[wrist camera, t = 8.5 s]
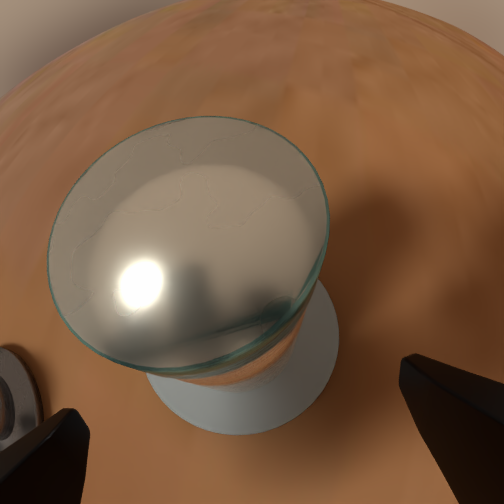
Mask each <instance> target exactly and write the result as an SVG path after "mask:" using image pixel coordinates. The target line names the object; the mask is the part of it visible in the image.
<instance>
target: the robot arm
mask: <svg viewBox="0 0 504 504" xmlns="http://www.w3.org/2000/svg"><path fill="white" fill-rule="evenodd" d="M399 387H400V390H401V392H402V394H403V397H404V399H405V401H406V403H407V406H408V408H409V410H410V412H411V415H412V417H413V419H414V422H415V424H416V426H417V428H418V431H419V433H420V434H421V436H422V438H423V440H424V441H425V443H426V445H427V447H428V448H429V450H430V452H431V454H432V455H433V457H434V459H435V461H436V462H437V464H438V466H439V468H440V470H441V471H442V473H443V475H444V477H445V479H446V481H447V482H448V484H449V486H450V488H451V490H452V492H453V494H454V495H455V497H456V499H457V501H458V503H459V504H504V384H503V383H500V382H497V381H494V380H491V379H488V378H485V377H482V376H479V375H476V374H473V373H470V372H467V371H465V370H462V369H459V368H456V367H453V366H450V365H447V364H445V363H442V362H439V361H436V360H433V359H431V358H428V357H425V356H422V355H420V354H417V353H415V354H411V355H409V356H406V357H404V358H402V360H401V365H400V374H399ZM89 440H90V430H89V428H88V426H87V425H86V423H85V422H84V420H83V419H82V417H81V415H80V414H79V412H78V411H77V410H76V409H73V408H63V409H61V410H60V411H58V412H57V413H56V414H54V415H53V416H51V417H50V418H49V419H47V420H46V421H44V422H43V423H41V424H40V425H39V426H37V427H36V428H34V429H33V430H31V431H30V432H29V433H27V434H26V435H24V436H23V437H21V438H20V439H18V440H17V441H16V442H14V443H13V444H11V445H10V446H8V447H7V448H5V449H4V450H2V451H1V452H0V504H81V498H82V493H83V487H84V482H85V476H86V467H87V457H88V448H89Z"/></svg>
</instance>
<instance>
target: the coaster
mask: <svg viewBox="0 0 504 504" xmlns="http://www.w3.org/2000/svg"><path fill="white" fill-rule="evenodd" d="M338 346H339V327H338V321H337V316H336V312H335V309H334V306H333V303H332V301H331V299H330V296H329V294H328V292H327V291H326V289H325V288H324V286H323V285H322V283H321V282H320V280H319V279H318V281H317V284H316V287H315V289H314V292H313V294H312V297H311V300H310V302H309V304H308V305H307V308H306V312H305V315H304V318H303V321H302V325H301V328H300V331H299V334H298V337H297V340H296V343H295V347H294V350H293V353H292V355H291V357H290V360H289V362H288V363H287V365H286V367H285V368H284V369H283V371H282V372H281V373H280V374H279V375H278V376H277V377H276V378H275V379H274V380H272V381H271V382H269V383H268V384H266V385H264V386H262V387H261V388H258V389H255V390H252V391H248V392H241V393H229V392H223V391H218V390H214V389H210V388H206V387H202V386H199V385H195V384H191V383H187V382H184V381H180V380H177V379H173V378H165V377H160V376H156V375H153V374H149V373H146V374H147V377H148V379H149V381H150V383H151V385H152V387H153V389H154V390H155V392H156V393H157V394H158V396H159V397H160V398H161V400H162V401H163V402H164V403H165V404H166V405H167V406H168V407H169V408H170V409H171V410H172V411H173V412H174V413H176V414H177V415H178V416H180V417H181V418H182V419H184V420H186V421H187V422H189V423H191V424H193V425H195V426H197V427H200V428H202V429H205V430H208V431H212V432H216V433H220V434H229V435H249V434H255V433H260V432H265V431H268V430H271V429H274V428H277V427H279V426H281V425H283V424H285V423H287V422H289V421H291V420H292V419H294V418H295V417H297V416H298V415H300V414H301V413H302V412H303V411H305V410H306V409H307V408H308V407H309V406H310V405H311V404H312V403H313V402H314V401H315V400H316V398H317V397H318V396H319V395H320V393H321V392H322V390H323V389H324V387H325V386H326V384H327V382H328V381H329V378H330V376H331V374H332V371H333V369H334V366H335V362H336V359H337V354H338Z"/></svg>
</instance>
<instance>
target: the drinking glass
mask: <svg viewBox="0 0 504 504" xmlns="http://www.w3.org/2000/svg"><path fill="white" fill-rule="evenodd" d="M329 228H330V213H329V206H328V199H327V196H326V192H325V189H324V186H323V183H322V181H321V179H320V177H319V175H318V173H317V171H316V169H315V168H314V166H313V165H312V164H311V162H310V161H309V159H308V158H307V157H306V156H305V155H304V154H303V153H302V152H301V151H300V149H299V148H298V147H297V146H295V145H294V144H293V143H291V142H290V141H289V140H288V139H286V138H285V137H283V136H282V135H280V134H278V133H277V132H275V131H273V130H271V129H269V128H267V127H264V126H262V125H260V124H257V123H253V122H250V121H247V120H242V119H237V118H232V117H222V116H198V117H188V118H182V119H177V120H172V121H168V122H165V123H161V124H158V125H155V126H152V127H150V128H147V129H145V130H142V131H140V132H138V133H136V134H134V135H132V136H130V137H128V138H127V139H125V140H123V141H121V142H120V143H118V144H117V145H115V146H114V147H112V148H111V149H110V150H108V151H107V152H105V153H104V154H103V155H102V156H101V157H99V158H98V159H97V160H96V161H95V162H94V163H93V164H92V165H91V166H90V167H89V168H88V169H87V170H86V171H85V172H84V173H83V174H82V175H81V177H80V178H79V179H78V180H77V182H76V183H75V184H74V185H73V187H72V188H71V190H70V191H69V193H68V194H67V196H66V198H65V199H64V201H63V203H62V205H61V207H60V209H59V211H58V213H57V216H56V219H55V221H54V224H53V227H52V231H51V234H50V238H49V244H48V251H47V275H48V282H49V288H50V291H51V295H52V298H53V301H54V304H55V306H56V308H57V310H58V312H59V314H60V316H61V318H62V319H63V321H64V322H65V324H66V325H67V327H68V328H69V330H70V331H71V332H72V333H73V334H74V335H75V336H76V337H77V338H78V339H79V340H80V341H81V342H82V343H83V344H84V345H86V346H87V347H89V348H90V349H91V350H93V351H94V352H95V353H97V354H99V355H101V356H103V357H105V358H107V359H109V360H111V361H113V362H115V363H118V364H121V365H124V366H127V367H130V368H133V369H136V370H139V371H142V372H145V373H149V374H153V375H156V376H160V377H165V378H173V379H177V380H180V381H184V382H187V383H191V384H195V385H199V386H202V387H206V388H210V389H214V390H218V391H223V392H229V393H241V392H248V391H252V390H255V389H258V388H261V387H262V386H264V385H266V384H268V383H269V382H271V381H272V380H274V379H275V378H276V377H277V376H278V375H279V374H280V373H281V372H282V371H283V369H284V368H285V367H286V365H287V363H288V362H289V360H290V357H291V355H292V353H293V350H294V347H295V343H296V340H297V337H298V334H299V331H300V328H301V325H302V321H303V318H304V315H305V312H306V308H307V305H308V304H309V302H310V300H311V297H312V294H313V292H314V289H315V287H316V284H317V281H318V277H319V274H320V271H321V267H322V264H323V261H324V257H325V254H326V249H327V244H328V238H329Z"/></svg>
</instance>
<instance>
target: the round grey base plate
mask: <svg viewBox="0 0 504 504" xmlns="http://www.w3.org/2000/svg"><path fill="white" fill-rule="evenodd" d="M43 422H44V417H43V407H42V402H41V397H40V393H39V390H38V387H37V384H36V381H35V379H34V377H33V375H32V373H31V371H30V369H29V367H28V366H27V364H26V363H25V362H24V361H23V360H22V358H20V357H19V356H18V355H17V354H15V353H14V352H12V351H9V350H7V349H4V348H2V347H0V452H1V451H2V450H4V449H5V448H7V447H8V446H10V445H11V444H13V443H14V442H16V441H17V440H18V439H20V438H21V437H23V436H24V435H26V434H27V433H29V432H30V431H31V430H33V429H34V428H36V427H37V426H39V425H40V424H41V423H43Z"/></svg>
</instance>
